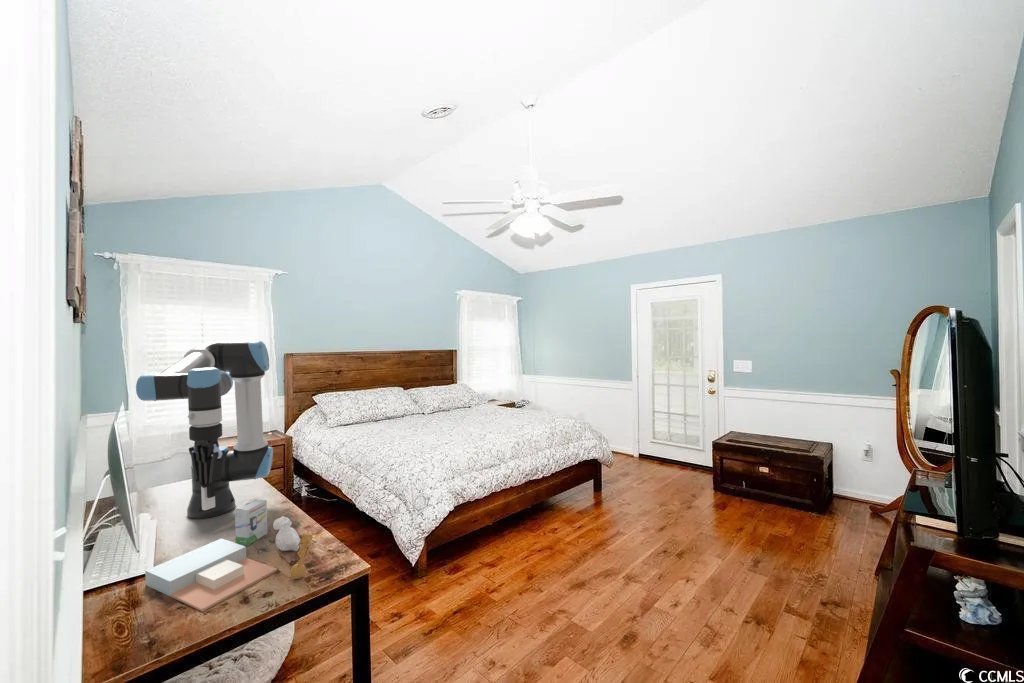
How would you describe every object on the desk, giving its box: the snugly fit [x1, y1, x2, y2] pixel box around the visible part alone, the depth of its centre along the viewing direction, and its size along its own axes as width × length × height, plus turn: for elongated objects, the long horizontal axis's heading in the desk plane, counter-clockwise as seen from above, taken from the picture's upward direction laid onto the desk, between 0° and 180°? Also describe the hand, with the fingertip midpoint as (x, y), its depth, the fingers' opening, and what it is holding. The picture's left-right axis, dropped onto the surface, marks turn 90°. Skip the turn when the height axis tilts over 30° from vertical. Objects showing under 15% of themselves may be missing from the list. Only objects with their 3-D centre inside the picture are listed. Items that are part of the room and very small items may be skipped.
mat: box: [170, 557, 278, 612], centre depth 121 cm, size 20×14×1 cm
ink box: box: [234, 498, 268, 547], centre depth 145 cm, size 9×5×12 cm, turn 168°
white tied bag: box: [273, 515, 301, 552], centre depth 139 cm, size 12×8×11 cm
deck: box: [144, 537, 247, 598], centre depth 126 cm, size 20×12×4 cm, turn 154°
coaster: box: [196, 559, 244, 590], centre depth 122 cm, size 8×8×2 cm
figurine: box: [289, 533, 313, 580], centre depth 123 cm, size 8×6×12 cm
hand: (208, 508), depth 123 cm, fingers closed
